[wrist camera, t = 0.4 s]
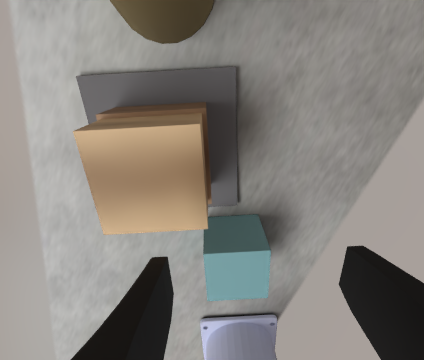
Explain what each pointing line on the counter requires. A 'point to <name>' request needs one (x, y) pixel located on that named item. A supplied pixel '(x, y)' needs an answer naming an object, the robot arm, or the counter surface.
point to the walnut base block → (167, 110)
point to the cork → (164, 17)
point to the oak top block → (146, 172)
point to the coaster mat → (175, 94)
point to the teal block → (236, 258)
